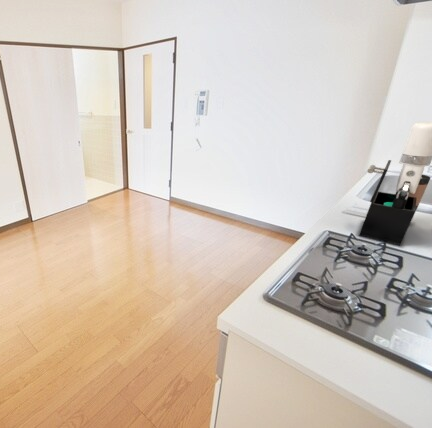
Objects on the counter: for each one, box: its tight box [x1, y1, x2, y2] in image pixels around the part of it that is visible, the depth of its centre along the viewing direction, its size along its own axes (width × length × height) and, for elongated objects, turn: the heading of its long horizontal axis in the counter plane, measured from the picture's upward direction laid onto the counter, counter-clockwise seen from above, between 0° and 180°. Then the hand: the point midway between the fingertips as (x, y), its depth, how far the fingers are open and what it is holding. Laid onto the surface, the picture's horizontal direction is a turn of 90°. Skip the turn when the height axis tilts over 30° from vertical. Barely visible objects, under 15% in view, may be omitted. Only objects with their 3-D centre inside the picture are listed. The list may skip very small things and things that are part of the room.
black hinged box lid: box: [366, 159, 392, 203], centre depth 106 cm, size 12×17×5 cm
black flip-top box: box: [358, 190, 417, 247], centre depth 107 cm, size 12×17×14 cm
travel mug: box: [395, 174, 431, 210], centre depth 113 cm, size 8×8×20 cm
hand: (398, 204), depth 104 cm, fingers open, 9 cm apart
